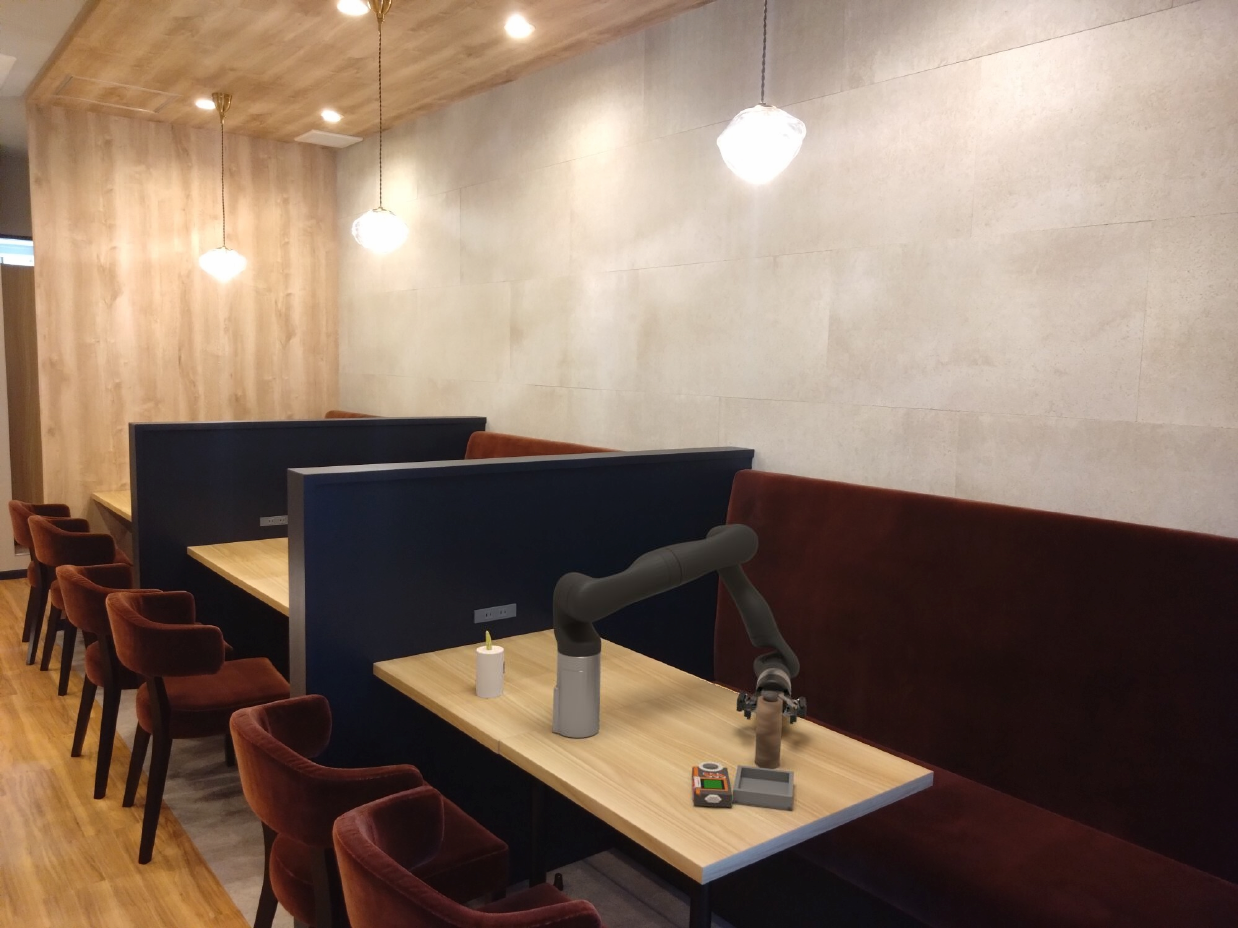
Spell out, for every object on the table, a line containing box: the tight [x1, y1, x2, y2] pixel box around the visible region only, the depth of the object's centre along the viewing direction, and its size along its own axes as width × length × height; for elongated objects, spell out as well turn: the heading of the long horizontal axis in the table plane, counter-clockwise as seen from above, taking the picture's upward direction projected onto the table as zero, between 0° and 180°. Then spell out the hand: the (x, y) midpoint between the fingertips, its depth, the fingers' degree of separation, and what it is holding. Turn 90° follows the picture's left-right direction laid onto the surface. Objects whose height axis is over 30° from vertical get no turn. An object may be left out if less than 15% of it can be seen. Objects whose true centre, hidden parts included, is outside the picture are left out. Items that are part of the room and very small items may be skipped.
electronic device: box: [691, 761, 733, 808], centre depth 166 cm, size 7×3×15 cm
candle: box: [475, 630, 506, 699], centre depth 210 cm, size 6×6×15 cm
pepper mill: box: [754, 691, 783, 769], centre depth 177 cm, size 5×5×14 cm
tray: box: [732, 764, 795, 811], centre depth 165 cm, size 10×10×2 cm
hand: (770, 717), depth 183 cm, fingers open, 8 cm apart
